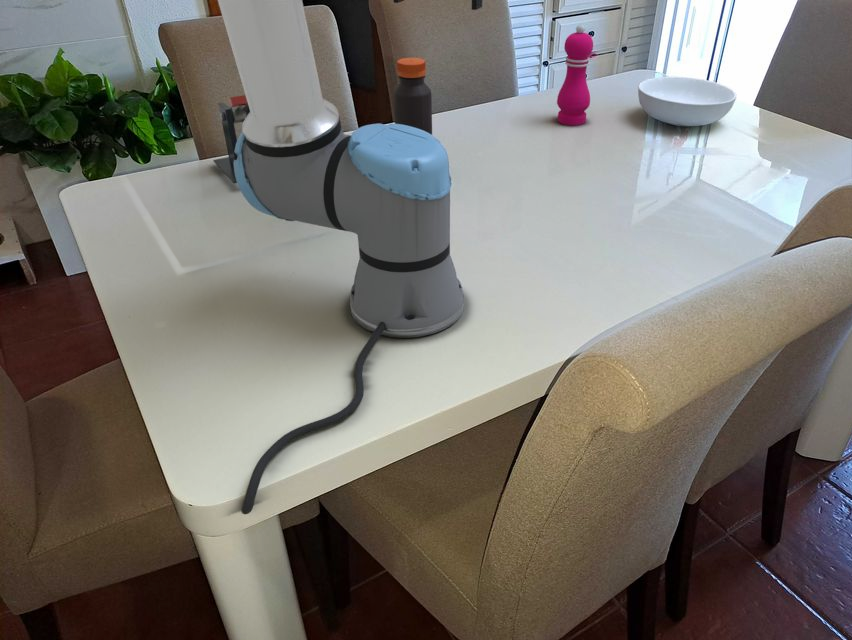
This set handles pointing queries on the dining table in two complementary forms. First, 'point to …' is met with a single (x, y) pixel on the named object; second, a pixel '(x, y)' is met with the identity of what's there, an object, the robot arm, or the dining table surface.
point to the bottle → (413, 95)
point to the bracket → (228, 141)
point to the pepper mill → (575, 79)
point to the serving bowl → (685, 100)
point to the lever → (238, 108)
